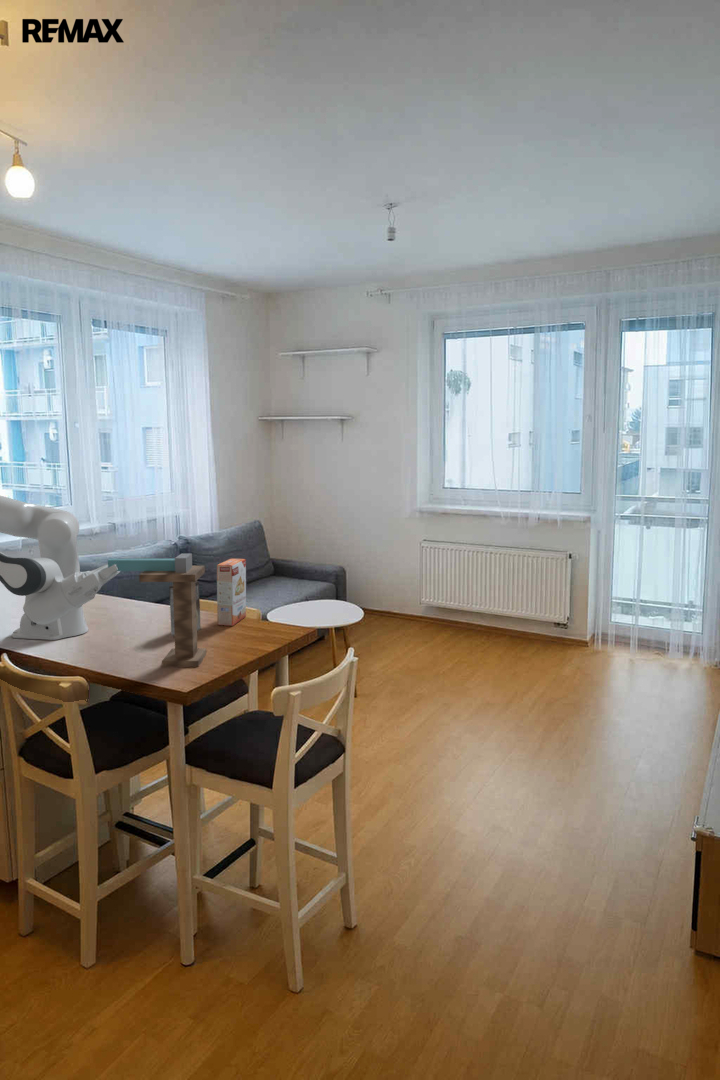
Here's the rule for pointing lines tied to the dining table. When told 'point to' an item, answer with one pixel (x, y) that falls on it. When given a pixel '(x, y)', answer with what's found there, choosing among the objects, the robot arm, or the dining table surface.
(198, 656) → the stand
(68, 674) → the dining table surface
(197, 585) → the coffee box
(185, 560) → the hammer
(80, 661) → the dining table surface
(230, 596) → the cracker box
